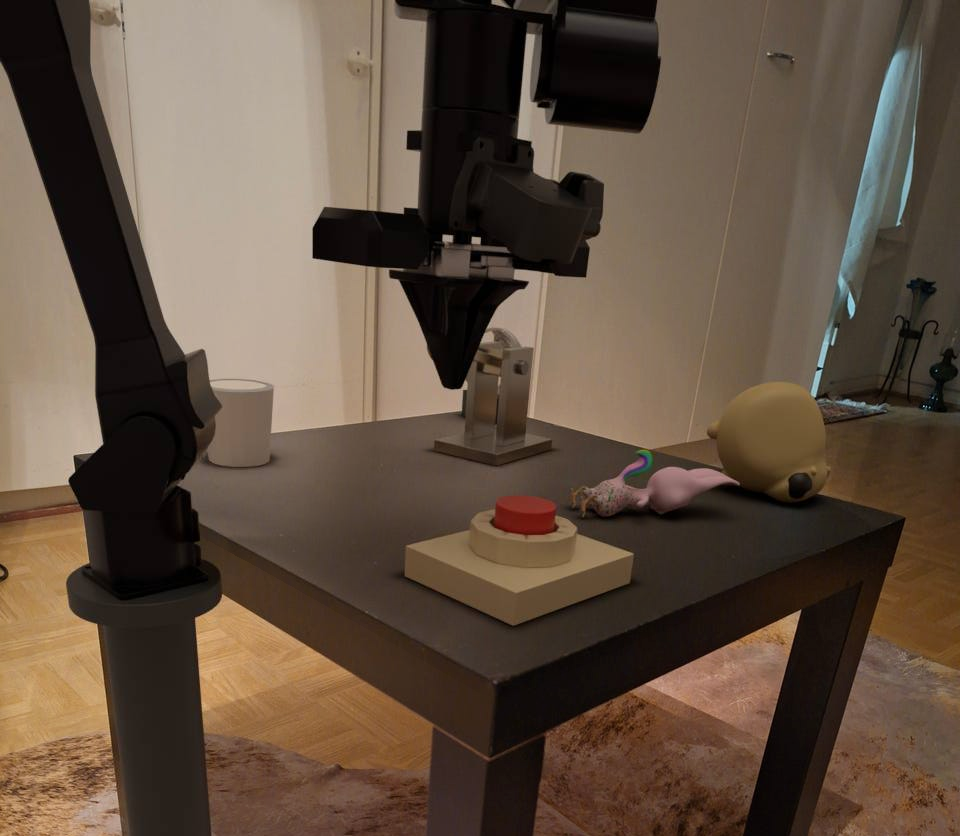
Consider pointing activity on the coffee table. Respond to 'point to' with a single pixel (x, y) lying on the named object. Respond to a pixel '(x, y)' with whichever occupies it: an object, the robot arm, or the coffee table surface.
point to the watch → (506, 342)
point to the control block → (517, 568)
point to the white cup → (242, 423)
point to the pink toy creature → (650, 488)
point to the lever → (488, 361)
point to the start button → (525, 515)
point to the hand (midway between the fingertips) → (452, 388)
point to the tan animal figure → (773, 442)
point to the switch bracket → (512, 412)
